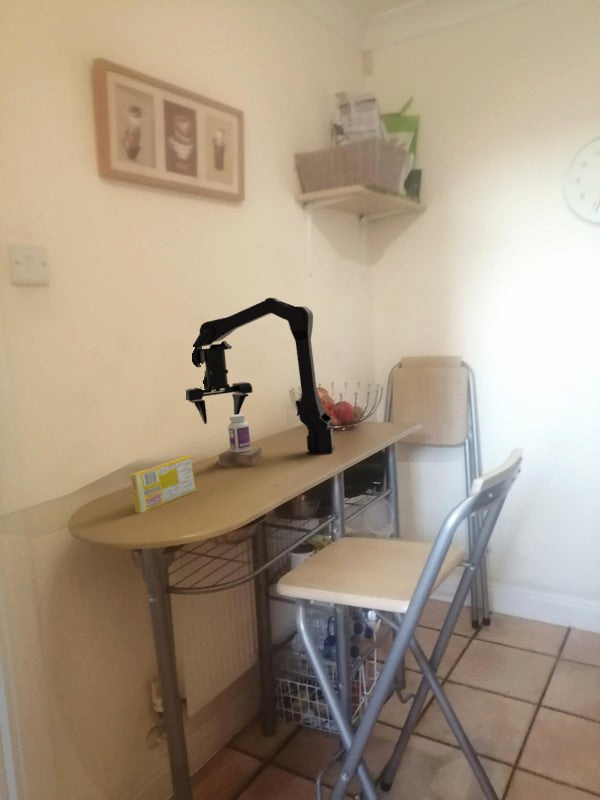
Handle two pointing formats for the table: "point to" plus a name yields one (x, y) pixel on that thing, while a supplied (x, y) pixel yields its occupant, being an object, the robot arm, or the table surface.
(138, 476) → the candy box
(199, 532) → the table surface
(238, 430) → the pill bottle
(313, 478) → the table surface
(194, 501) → the table surface
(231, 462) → the tan flat square block
